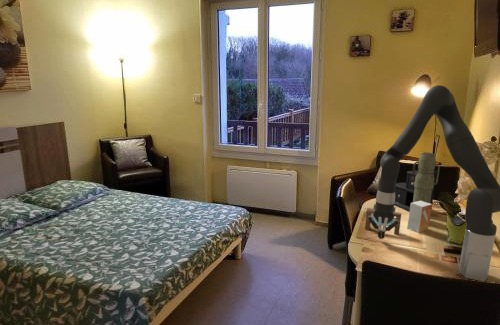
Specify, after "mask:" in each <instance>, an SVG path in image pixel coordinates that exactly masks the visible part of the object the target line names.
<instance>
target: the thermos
mask: <svg viewBox="0 0 500 325" xmlns="http://www.w3.org/2000/svg"><path fill="white" fill-rule="evenodd" d="M416 165H417V170H416ZM436 166H437V170H435V169H436ZM440 168H441V166H440V164H439V163H437V159H436V154H434V153H433V152H422V153H420V155H419V158H418V161H415V162H414V163H413V164H412V171H413V173H412V181H413V182H414V187H415V190H414V197H413V202H417V201H423V202H427V203H430V200H431V193H432V190H433V187H434V185H435V186H436V185H438V182H439V175H440ZM415 171H417V174H416V176H415V179H414V173H415ZM434 171H437V173H436V180H435V178H434ZM434 180H435V181H434ZM434 188H435V187H434Z"/></svg>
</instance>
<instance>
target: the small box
mask: <svg viewBox="0 0 500 325" xmlns="http://www.w3.org/2000/svg"><path fill="white" fill-rule="evenodd" d="M431 208H433V203H432V204H430V203H427V202H423V201H417V202H413V203H411V204H410V212H409V211H408V212H409V213H408V220H407V221H408V222H407V227H406V228H407V229H409V230H411V231H413V232H416V233H419V234H420V233H421V232H425V231H427V230H429V227H430V226H429V225H430V219H431V215H432V214H431V213H432V211H431Z"/></svg>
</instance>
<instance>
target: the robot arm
mask: <svg viewBox="0 0 500 325" xmlns="http://www.w3.org/2000/svg"><path fill="white" fill-rule="evenodd" d="M434 115H435V116H436V118H437V119H438V121H439V123H440V125H441V129H442V132H443V136H444V141H445V144H446V147H447V149H448V151H449V153H450V155H451V158H452V159H453V161H454V162H455V163H456V164H457V165H458V166H459V168H461V170H463V171H464V172H465V173H466V174H467V175H468V176H469V177H470V178H471V180H472V181H473V183H474V185H475V187H476V188H474V189H472V190H471V191H470V192H469V193H468V195H467V198H466V204H465V210H466V212H465V221H466V229H465V235H464V240H463V242H462V247H461V252H460V259H459V267H458V272H459V273H460V274H461V275H462V276H463V277H464V278H465V279H469V280H470V279H471V280H476V281H480V282H486V280H487V279H488V277H489V271H490V267H491V266H490V265H491V262H492V261H491V260H492V257H493V256H492V255H493V249H494V245H495V239H496V235H497V225H496V224H495V223H493V222H492V216H493V214H494V213H500V183H499V182H498V181H497V178H495V176H494V173H493V172H492V171H491V170H490V169H491V168H489V166H488V163H487V161H486V160H485V158H484V156H483V154H482V151H481V150H480V147H479V145H478V143H477V141H476V140H475V137H474V136H473V134H472V131H471V130H470V128H469V127H468V125H467V124H466V123H465V121H464V120H463V118H462V116H461V114H460V111H459V108H458V106H457V102H456V99H455V97H454V94H453V93H452V91H451V90H450V89H448V87H446V86H444V85H440V84H438V85H434V86H432V87H430V88H429V89H428V90H427V92H426V93H425V95H424V97H423V99H422V101H421V102H420V104H419V106H418V107H417V110H416V112H414V115H413V116H412V118H411V119H410V121H409V123H407V125H406V127H405V128H404V130H403V131H402V132H401V134H400V135H399V136H398V137H397V139H396V140H395V141H394V143H393V145H391V146H390V147H389V148H388V149H387V150H386V151H385V152H384V153H383V155H382V157H381V158H380V161H379V165H380V168H381V171H380V172H381V173H380V177H379V179H378V185H377V191H376V192H377V193H376V196H375V197H376V198H375V204H376V205H375V211H374V213H372V214H373V215H371V216H370V215H369V216H368V220H369V221H370V222H371V223H370V225H372V227H373V228H374V230H377V237H378V240H383V239H385V235H386V232H390V231H391V230H392V229H394V228H395V226H396V225H397V224H398V220H396V219H395V218H396V217H394V215H393V211H394V207H395V205H394V203H395V190H396V183H397V179H398V177H399V174H400V167H401V166H400V162H401V160H402V159H403V157H404V156H407V155H409V153H410V152H411V151H412V150H413V149H414V147H415V146H416V144H417V143H418V142H419V140H420V139H421V137H422V135H423V133H424V130H425V128H426V127H427V125H428V123H429V121H430V120H431V119H432V117H433V116H434ZM374 217H375V219H376V221H377V222H378V224H376V223H375V221H374ZM392 220H393V221H392ZM390 221H392V223H391V224H390V225H389V226H386V225H387V224H388V223H389V222H390ZM382 223H383V225H382Z"/></svg>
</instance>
